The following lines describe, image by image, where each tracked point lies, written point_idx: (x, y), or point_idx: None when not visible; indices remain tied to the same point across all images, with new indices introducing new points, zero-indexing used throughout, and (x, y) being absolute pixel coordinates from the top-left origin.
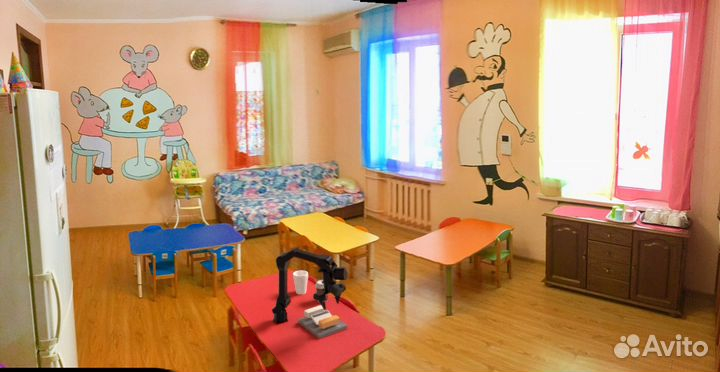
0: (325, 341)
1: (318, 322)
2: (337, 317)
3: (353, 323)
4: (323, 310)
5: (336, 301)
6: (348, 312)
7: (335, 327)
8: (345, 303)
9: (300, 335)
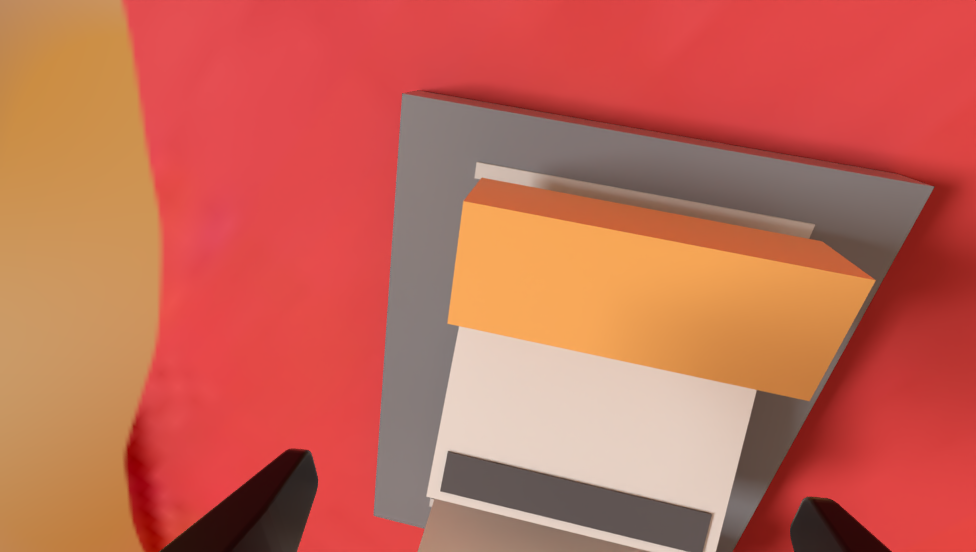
0: (913, 46)
1: (714, 401)
2: (486, 241)
3: (274, 138)
4: (449, 527)
5: (294, 541)
6: (192, 351)
7: (569, 179)
8: (136, 470)
9: (934, 405)
